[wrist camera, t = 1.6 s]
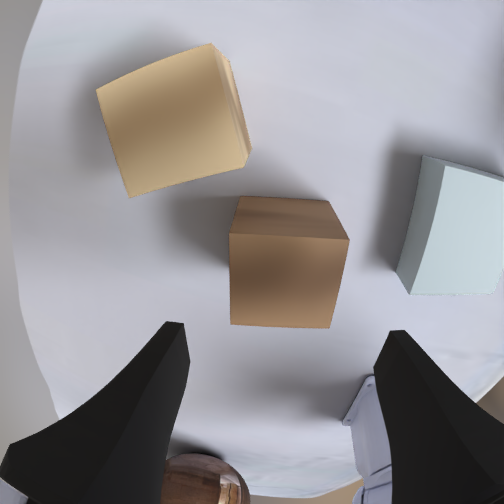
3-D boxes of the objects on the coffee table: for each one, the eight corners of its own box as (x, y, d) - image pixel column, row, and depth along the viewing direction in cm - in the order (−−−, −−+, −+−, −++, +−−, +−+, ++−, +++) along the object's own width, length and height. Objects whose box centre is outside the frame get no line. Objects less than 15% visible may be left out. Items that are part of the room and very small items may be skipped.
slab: (474, 272, 18) (492, 294, 15) (393, 269, 18) (409, 295, 16) (502, 176, 14) (528, 190, 11) (419, 153, 14) (445, 165, 12)
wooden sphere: (191, 471, 40) (179, 539, 27) (136, 437, 34) (113, 519, 21) (268, 468, 37) (264, 547, 24) (222, 434, 30) (207, 542, 17)
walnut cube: (317, 274, 18) (329, 328, 14) (239, 270, 19) (230, 324, 14) (328, 200, 16) (349, 239, 12) (240, 195, 16) (229, 233, 12)
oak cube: (252, 148, 15) (243, 167, 11) (167, 169, 16) (129, 198, 11) (229, 61, 13) (211, 43, 8) (143, 90, 13) (95, 89, 9)
